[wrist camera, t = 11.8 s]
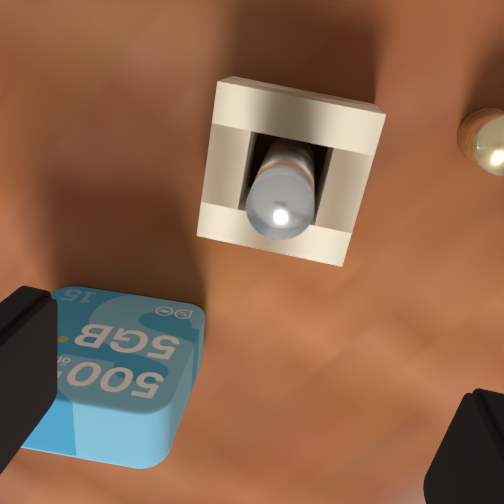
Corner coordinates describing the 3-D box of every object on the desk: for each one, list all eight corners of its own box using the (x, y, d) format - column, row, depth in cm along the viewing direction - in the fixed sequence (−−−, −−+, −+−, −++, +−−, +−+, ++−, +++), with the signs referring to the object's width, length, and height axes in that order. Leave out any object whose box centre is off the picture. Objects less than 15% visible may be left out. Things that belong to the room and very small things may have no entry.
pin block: (374, 103, 29) (386, 114, 24) (338, 235, 32) (342, 266, 28) (232, 75, 29) (217, 81, 24) (212, 209, 33) (196, 235, 28)
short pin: (520, 113, 28) (551, 122, 24) (499, 164, 29) (526, 181, 25) (467, 102, 28) (490, 111, 24) (449, 154, 29) (468, 169, 26)
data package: (209, 305, 36) (164, 416, 25) (205, 352, 38) (162, 475, 27) (61, 282, 37) (-45, 380, 26) (65, 329, 39) (-33, 439, 28)
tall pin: (319, 141, 30) (321, 182, 21) (308, 188, 31) (305, 246, 22) (270, 131, 30) (252, 168, 21) (261, 178, 31) (240, 232, 22)
